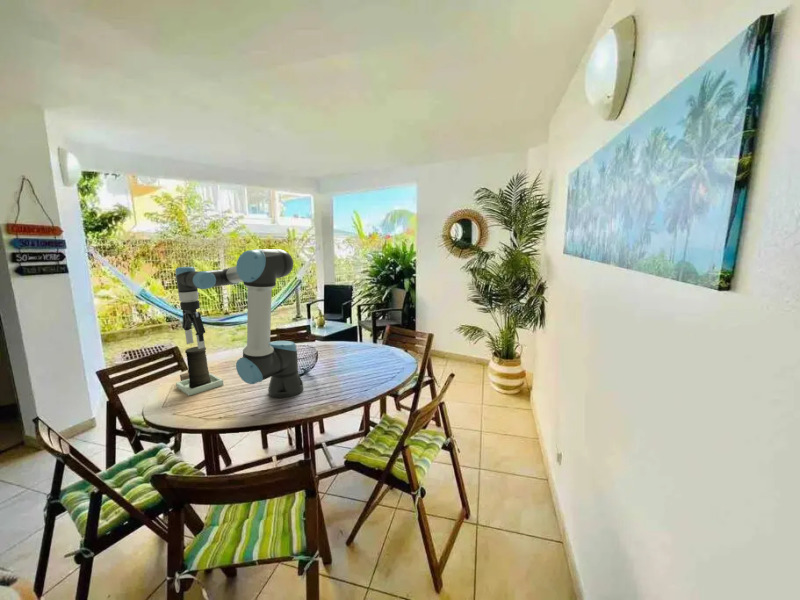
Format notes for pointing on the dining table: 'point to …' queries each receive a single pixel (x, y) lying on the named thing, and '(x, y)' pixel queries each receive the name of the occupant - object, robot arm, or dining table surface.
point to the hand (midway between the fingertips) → (195, 345)
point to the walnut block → (184, 376)
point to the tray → (189, 391)
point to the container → (197, 367)
